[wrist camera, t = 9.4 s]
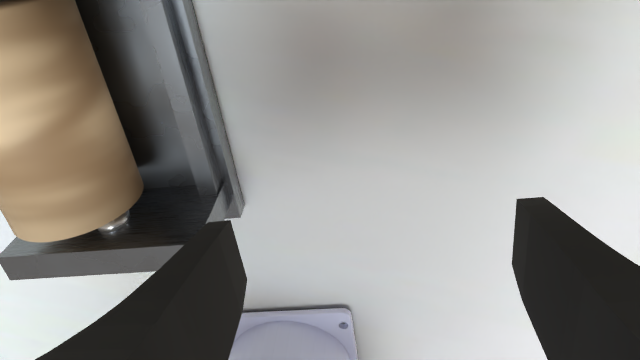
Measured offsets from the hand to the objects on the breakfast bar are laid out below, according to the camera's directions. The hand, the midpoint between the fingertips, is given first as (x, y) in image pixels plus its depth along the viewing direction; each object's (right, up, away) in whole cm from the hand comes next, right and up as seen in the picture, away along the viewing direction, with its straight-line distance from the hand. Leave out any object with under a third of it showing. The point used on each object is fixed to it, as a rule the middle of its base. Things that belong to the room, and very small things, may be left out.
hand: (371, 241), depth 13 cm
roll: (-11, +5, +8) cm, 14 cm away
